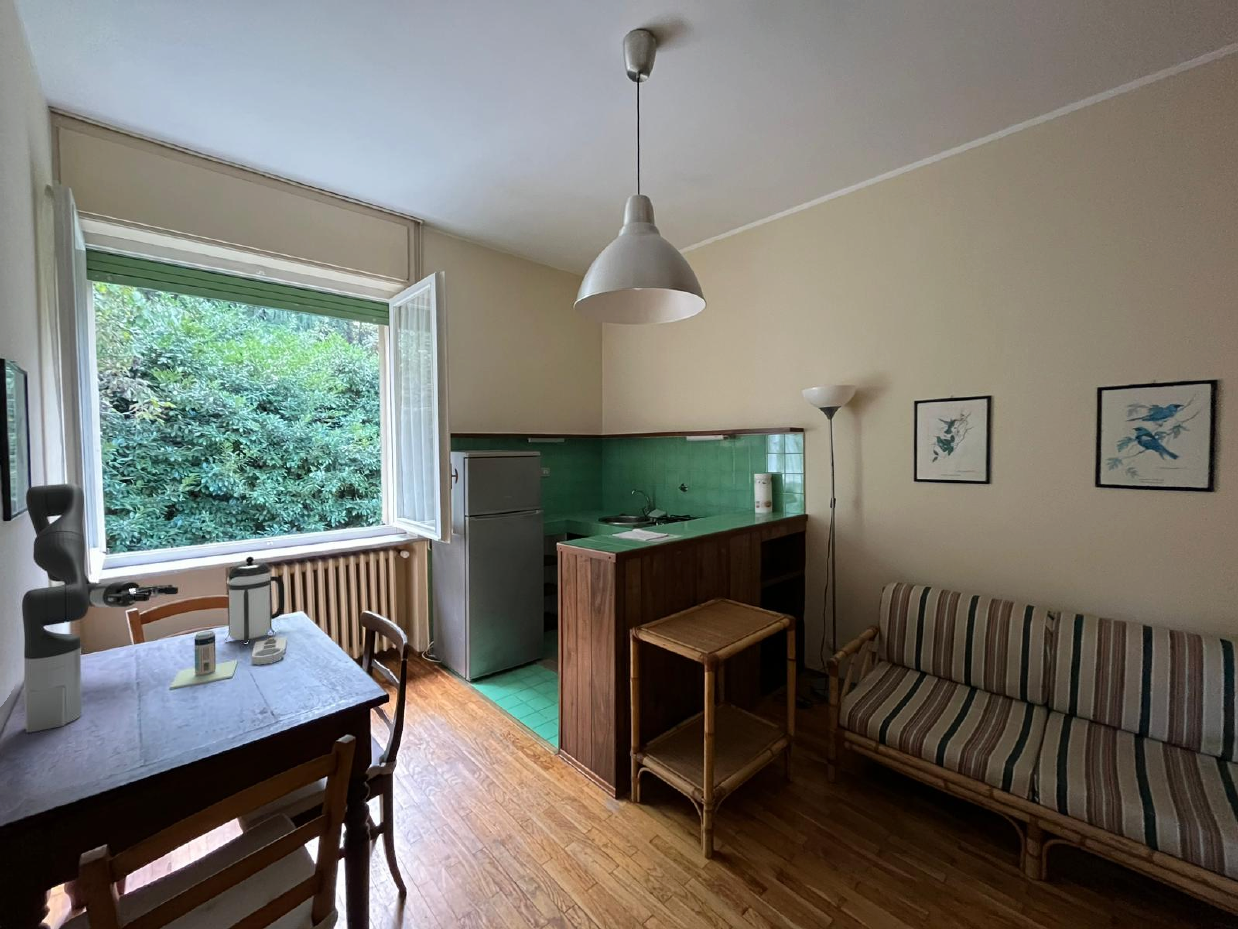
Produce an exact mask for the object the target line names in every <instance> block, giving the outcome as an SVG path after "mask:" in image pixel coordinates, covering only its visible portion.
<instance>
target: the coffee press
mask: <svg viewBox="0 0 1238 929" xmlns="http://www.w3.org/2000/svg"><path fill="white" fill-rule="evenodd" d="M245 561H246V562H245V563H240V564H236V565H234V566H233V567H232V568H230V570H229V572H227V579H226V584H227V586H228V596H227V598H228V635H227V637H226V638H225V639H224V641H225V640H226V641H227V639H228V637H230V639H232V640H237V641H240V640H242V641H243V644H244V643H247V642H248V640H252V639H256V638H259V637H264V636H266V635H268V634H267V633H269V632H270V631H271V632H272V633H273V634H274V632H275V630H273V628H272V620H274V619H276V618H278V617H280V616H281V614H282V613H283V611H284V609H285V582H284V581H283V579H282V578H281V577H279V576H271V572H272V568H271V567H270V565H269V564H268V563H265V562H257V561H256V562H254V557H252V556H248V557H247V558H246V559H245ZM272 582H275V583H276V584H277V599H278V600H277V601H278V603H277V605H278V606H277V610H276V611H275V612H274V613H272Z"/></svg>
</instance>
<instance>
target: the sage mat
mask: <svg viewBox="0 0 1238 929" xmlns="http://www.w3.org/2000/svg"><path fill="white" fill-rule="evenodd" d="M237 662H238V663H239V660H232V661H227V662H221V663H216V669H215V670H214V671H213V672H212V673H210V674H206V675H196V674H195V667H192V668H186V669H181V670H179V672H178V673H177V675H176V676H175V678H174V679H173V681H172V683H171V684H170V686H169V688H168V689H169V690H173V689H179V688H180V689H181V688H184V687H189V686H194V685H195V686H197V685H200V684H206V683H211V682H216V681H222V680H228V679H233V676H234V673H235V671H236V669H237V666H238V663H237ZM236 665H237V666H236ZM235 668H236V669H235ZM227 678H228V679H227Z"/></svg>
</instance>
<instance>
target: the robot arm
mask: <svg viewBox="0 0 1238 929" xmlns="http://www.w3.org/2000/svg"><path fill="white" fill-rule="evenodd" d="M25 502H26V508H27V512H28V516H29V519H30V521H31V523H32V526H33V529H34V531H35V532H34V533H35V534H36V537H35V538H34V540H33V541H34V542H33V558H32V559H33V560H34V563H35V564H36V565H37V566H38V567H39V568H40V569H41V570H43V571H45V572H46V574H47V578H48V579H49V580H50V581H52V582H62V583H63V584H61V585H57V586H49V587H39V588H34V589H30V590H28V591H26V592H25V594H24V595H23V597H22V602H21V603H22V604H21V610H22V612H21V614H22V622H23V633H24V652H23V656H24V657H23V658H24V660H23V662H24V666H23V667H24V670H23V672H24V677H23V678H24V682H23V683H24V684H23V685H24V688H23V689H24V730H25V729H26V730H25V731H26V733H27V732H30V733H35V732H39V731H44V730H50V729H54V728H60V727H64V726H66V724H68V723H71V722H73V721H75V720H77V719H78V718H80V717H81V716H82V641H81V637H80V636H79V635H77V634H72V633H59V632H53V631H50V630H47V629H46V628H44V627H47V626H52V625H58V624H65V623H71V622H76V621H79V620H82V619H84V618H85V616H86V615H87V613H88V612H89V611H88V610H89V607H101V608H126V607H131V606H133V605H134V604H136V603H137V602H147V601H149V600H150V599H152V598H157V597H159V596H163V595H165V596H167V595H177V594H178V593H179V587H178V586H173V584H155V585H151V586H147V585H142V586H141V585H139V584H138V583H137V582H134V581H108V582H94V583H93V582H92V583H91V581H90V580H89V578H88V577H87V575H86V571H85V568H86V567H85V561H86V560H85V558H86V556H85V555H86V552H85V551H86V548H85V547H86V546H85V534H84V525H83V524H84V521H83V518H84V507H85V496H84V490H82V487H81V486H80V485H79V484H76V483H60V484H59V483H58V484H47V485H38V486H37V485H36V486H31V487H29V488H28V489H27V491H26V495H25ZM58 516H59V517H58ZM50 517H58V518H56V519H55V520H54V521H53V522H51V523H50V522H49V519H48V518H50Z"/></svg>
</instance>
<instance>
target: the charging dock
mask: <svg viewBox="0 0 1238 929" xmlns="http://www.w3.org/2000/svg"><path fill="white" fill-rule="evenodd" d="M286 639H287V636H284V637H278V638H275V637H274V636H273V637H269V638H267V640H259V641H255V643H254V645H253V649H252V651H251V652H252V653H251V665H254V664H264V665H268V664H267V663H269V664H272V663H271V662H274V661H276V662H278V661H277V660H279V659H280V658H282V657H283V658H284V654H283V652H284V651H285V652H286V649H285V647H286V648H287V642H286ZM279 661H280V660H279ZM274 663H275V662H274Z"/></svg>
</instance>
